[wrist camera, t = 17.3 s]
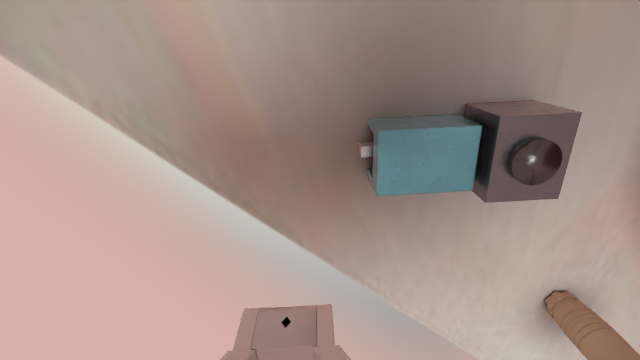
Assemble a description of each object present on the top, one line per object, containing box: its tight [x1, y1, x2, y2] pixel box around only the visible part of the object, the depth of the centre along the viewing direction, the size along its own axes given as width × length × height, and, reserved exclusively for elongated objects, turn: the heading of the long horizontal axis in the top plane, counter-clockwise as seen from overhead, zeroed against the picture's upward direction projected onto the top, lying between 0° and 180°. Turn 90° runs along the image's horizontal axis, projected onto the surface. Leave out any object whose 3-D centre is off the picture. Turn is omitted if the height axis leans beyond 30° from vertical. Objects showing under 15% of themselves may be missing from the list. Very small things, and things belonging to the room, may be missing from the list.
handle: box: [545, 291, 640, 360], centre depth 31 cm, size 5×6×15 cm
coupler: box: [359, 100, 582, 203], centre depth 27 cm, size 16×7×6 cm, turn 93°
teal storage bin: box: [368, 114, 482, 196], centre depth 28 cm, size 8×6×4 cm
